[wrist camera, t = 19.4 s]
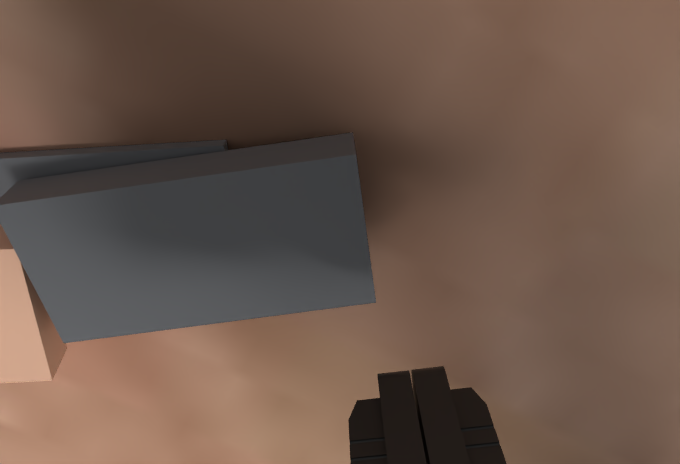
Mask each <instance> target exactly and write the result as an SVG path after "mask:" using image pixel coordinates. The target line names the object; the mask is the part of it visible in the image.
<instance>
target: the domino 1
mask: <svg viewBox="0 0 680 464" xmlns="http://www.w3.org/2000/svg"><path fill="white" fill-rule="evenodd" d="M66 349H67V347H66V343H63V341H62V339H61V338H60V336H59V334H58V332H57V330H56V328H55V326H54V324H53V322H52V320H51V319H50V317H49V315H48V313H47V311H46V309H45V307H44V305H43V303H42V301H41V300H40V298H39V296H38V294H37V292H36V290H35V288H34V286H33V284H32V282H31V281H30V279H29V277H28V275H27V273H26V271H25V269H24V267H23V265H22V263H21V262H20V260H19V258H18V256H17V254H16V252H15V250H14V248H13V246H12V245H11V243H10V241H9V239H8V237H7V235H6V233H5V231H4V229H3V227H2V226H1V224H0V383H15V382H33V381H50V380H53V378H54V375H55V373H56V371H57V369H58V367H59V365H60V362H61V360H62V358H63V356H64V354H65V351H66Z"/></svg>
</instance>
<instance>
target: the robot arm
mask: <svg viewBox="0 0 680 464" xmlns="http://www.w3.org/2000/svg"><path fill="white" fill-rule="evenodd" d="M411 373H412V383H411V378H410V373H409V370H408V371H399V372H391V373H382V374H378V383H379V392H380V398H375V399H367V400H358V401H357V402H356V404H355V406H354V409H353V411H352V413H351V416H350V418H349V439H350V459H351V464H506V461H505V458H504V455H503V452H502V449H501V446H500V445H499V440H498V437H497V434H496V431H495V429H494V426H493V422H492V419H491V416H490V413H489V410H488V407H487V404H486V403H485V402H484V401H483V400H482V399H481V398H480V397H479V396H478V394H477V393H476V392H475V391H474V390H473V389H472V388H462V389H453V390H450V387H449V383H448V379H447V376H446V372H445V369H444V367H443V366H441V367H433V368H424V369H415V370H411ZM412 385H413V388H412Z"/></svg>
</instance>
